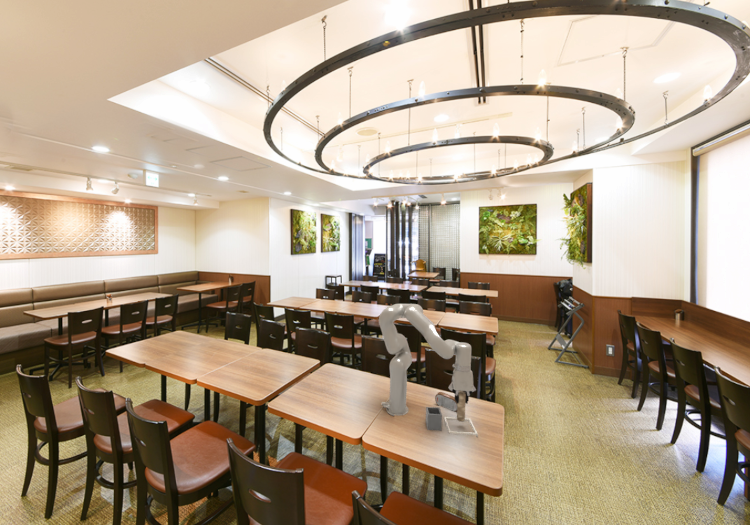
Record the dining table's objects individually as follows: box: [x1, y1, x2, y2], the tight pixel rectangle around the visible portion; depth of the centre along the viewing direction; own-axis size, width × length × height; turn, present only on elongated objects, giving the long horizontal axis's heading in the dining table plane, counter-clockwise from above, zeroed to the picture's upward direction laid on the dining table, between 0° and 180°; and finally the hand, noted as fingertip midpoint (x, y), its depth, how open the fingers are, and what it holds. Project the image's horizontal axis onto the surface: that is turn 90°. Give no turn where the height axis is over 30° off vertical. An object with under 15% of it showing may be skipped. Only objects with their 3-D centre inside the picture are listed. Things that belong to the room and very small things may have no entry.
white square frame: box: [443, 416, 479, 438], centre depth 148 cm, size 14×13×2 cm
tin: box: [434, 391, 457, 413], centre depth 166 cm, size 15×3×8 cm, turn 49°
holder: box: [425, 406, 443, 432], centre depth 148 cm, size 7×7×9 cm
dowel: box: [456, 391, 467, 423], centre depth 148 cm, size 4×4×14 cm
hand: (461, 401), depth 147 cm, fingers closed on dowel, 4 cm apart
